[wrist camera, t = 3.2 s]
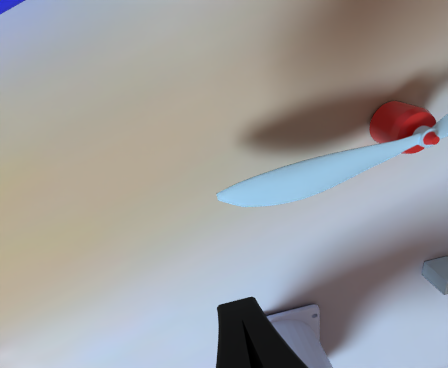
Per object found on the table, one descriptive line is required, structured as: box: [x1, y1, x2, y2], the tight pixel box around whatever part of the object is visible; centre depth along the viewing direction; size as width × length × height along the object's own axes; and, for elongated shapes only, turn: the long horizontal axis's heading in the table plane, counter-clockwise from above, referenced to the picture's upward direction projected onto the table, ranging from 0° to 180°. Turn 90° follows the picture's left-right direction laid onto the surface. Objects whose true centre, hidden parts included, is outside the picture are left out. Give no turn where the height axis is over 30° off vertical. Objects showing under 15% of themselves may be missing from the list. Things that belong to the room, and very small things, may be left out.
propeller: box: [217, 101, 448, 207], centre depth 19 cm, size 4×25×4 cm, turn 102°
